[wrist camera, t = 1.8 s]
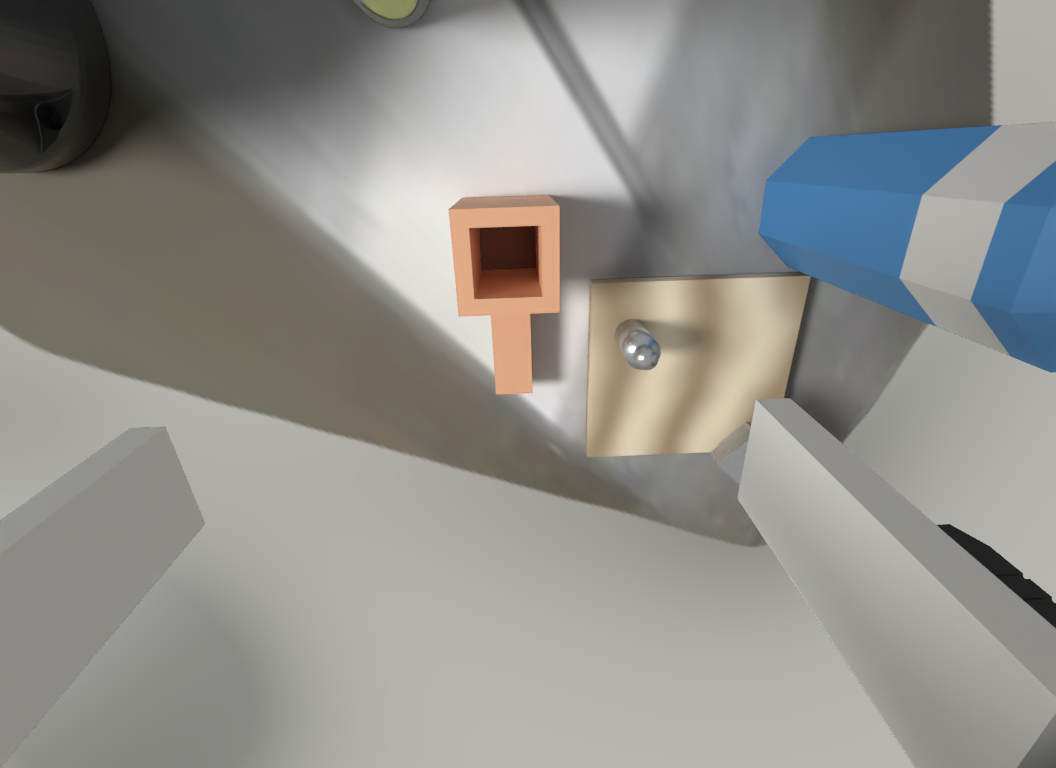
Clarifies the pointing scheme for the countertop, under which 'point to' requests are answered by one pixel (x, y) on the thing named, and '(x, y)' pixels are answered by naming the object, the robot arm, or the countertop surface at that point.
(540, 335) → the countertop surface
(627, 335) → the pintle
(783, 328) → the board
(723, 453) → the block
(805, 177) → the water bottle
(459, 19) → the countertop surface
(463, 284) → the link
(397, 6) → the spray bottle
